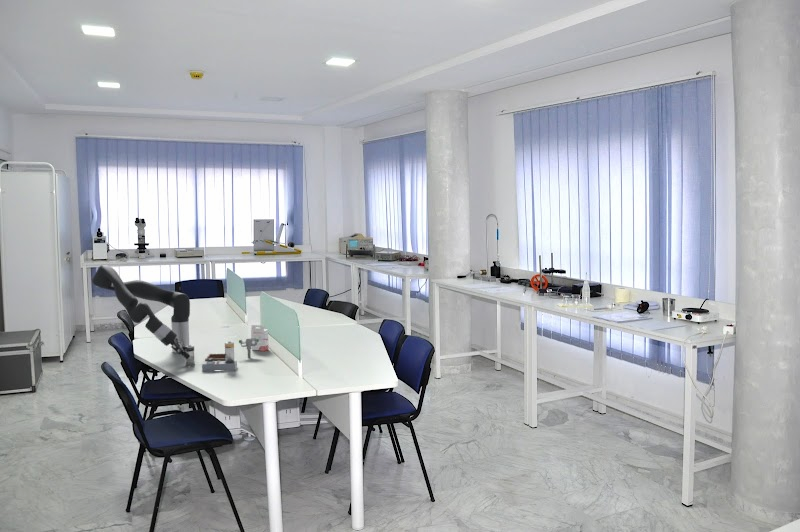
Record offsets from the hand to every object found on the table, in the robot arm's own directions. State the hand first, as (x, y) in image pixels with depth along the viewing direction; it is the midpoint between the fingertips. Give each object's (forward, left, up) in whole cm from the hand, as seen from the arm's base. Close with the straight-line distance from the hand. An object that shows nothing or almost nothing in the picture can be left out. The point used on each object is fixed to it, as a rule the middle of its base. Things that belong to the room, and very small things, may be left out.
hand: (188, 355), depth 328 cm
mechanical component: (-15, +28, -5) cm, 33 cm away
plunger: (+9, +12, -5) cm, 16 cm away
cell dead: (0, 0, -5) cm, 5 cm away
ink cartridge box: (-32, +32, -5) cm, 46 cm away
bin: (-4, +14, -5) cm, 15 cm away
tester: (+9, +17, -5) cm, 20 cm away
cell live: (+9, +22, -2) cm, 24 cm away
